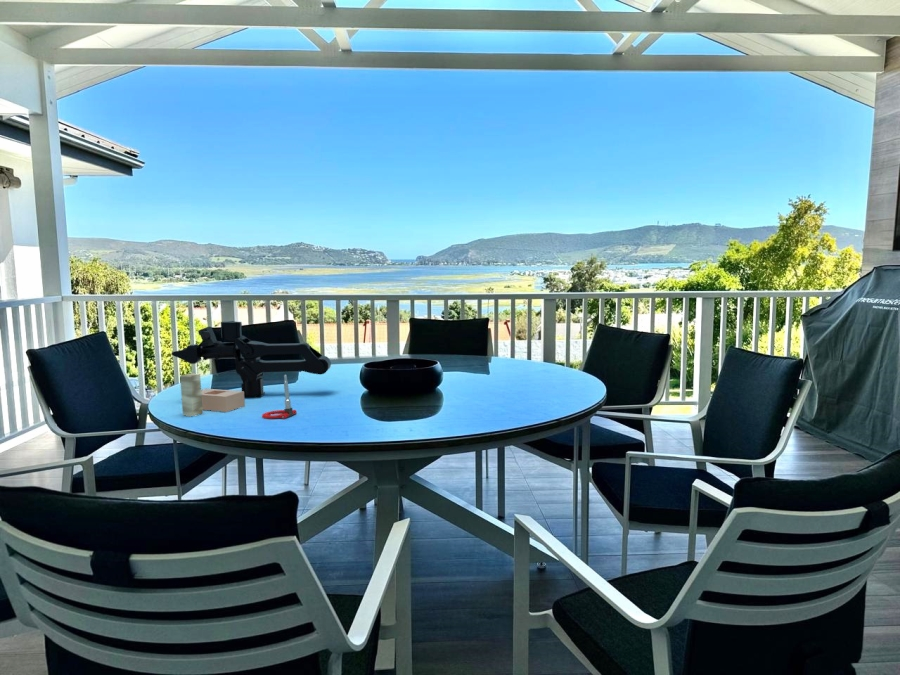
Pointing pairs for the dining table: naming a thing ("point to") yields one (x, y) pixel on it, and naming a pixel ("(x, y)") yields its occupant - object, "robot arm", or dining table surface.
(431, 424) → the dining table surface
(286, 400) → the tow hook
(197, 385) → the birch bar
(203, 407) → the flat beige box
